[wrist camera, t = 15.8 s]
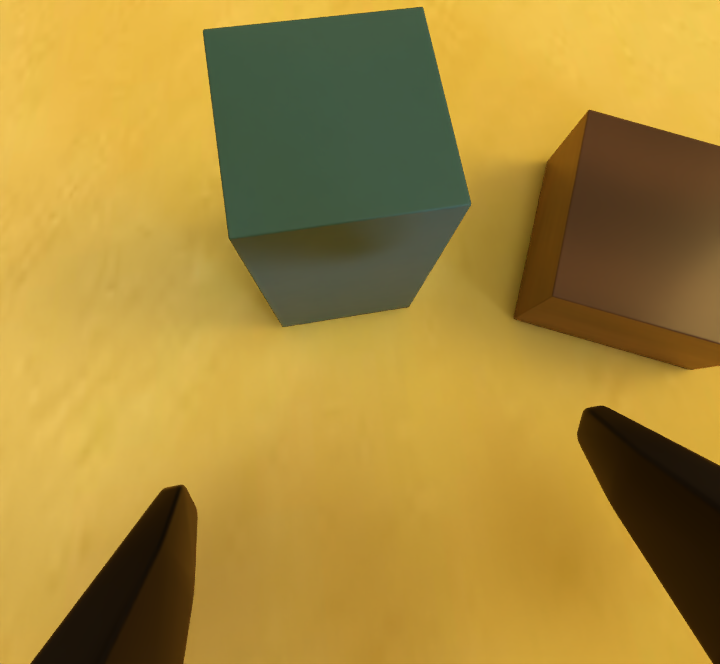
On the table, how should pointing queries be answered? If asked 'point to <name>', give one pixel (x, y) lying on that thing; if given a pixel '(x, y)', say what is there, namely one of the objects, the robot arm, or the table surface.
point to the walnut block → (629, 242)
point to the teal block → (335, 159)
